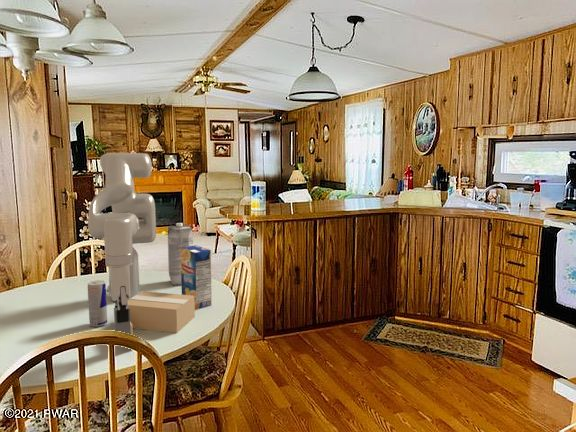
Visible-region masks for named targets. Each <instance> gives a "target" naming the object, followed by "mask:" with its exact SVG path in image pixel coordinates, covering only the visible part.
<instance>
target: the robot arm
mask: <svg viewBox="0 0 576 432" xmlns="http://www.w3.org/2000/svg"><path fill="white" fill-rule="evenodd" d="M99 164H100V166H101V167H100V168H101V169H102V171H103V173H104V174H105V183H104V186H105V187H104V188H103V189H102V190H101V191H99V192H97V194H96V195H95V196H94V197H93V199H92V201H91V202H90V204H89V208H88V218H87V227H88V228H87V229H88V233H89V235H90V236H91V237H92V238H94V239H98V240H99V239H104V258H105V260H104V261H105V267H107V268H108V285H107V287H106V292H108V293H109V296H110V300H111V301H113V302H114V304H115V305H114V308H117V323H122V322H128V321H129V312H128V300H130V298H132V297H134V296H135V295H138V294H140V293H141V292H143V291H142V290H141V289H140V267H139V265H140V264H139V254H138V251H137V250H136V249H135V247H134V246H133V245H134V244H136V245H137V244H149V243H153V242H154V241H155V239H156V237H157V223H156V220H157V219H156V203H155V199H154V197H153V195H151V194H150V193H136V192H135V183H134V179H136V178H137V179H138V178H139V179H140V178H142V179H144V178H149V177H151V175H152V169H153V165H152V164H153V163H152V159H151V157H150V155H149V154H148V153H143V152H138V153H137V152H108V153H105V154H102V155H101V156H100V158H99ZM108 207H111V210H112V213H111V212H109V213H108V212H105V213H104V212H103V213H101V212H102V211H104V210H105V209H107V208H108Z"/></svg>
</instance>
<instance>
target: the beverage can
mask: <svg viewBox="0 0 576 432" xmlns="http://www.w3.org/2000/svg"><path fill="white" fill-rule="evenodd" d="M87 301H88V316H89V317H88V318H89V326H91V327H94V328H95V327H96V328H99V327H103V326H105V325H107V324H108V307H107V306H108V305H107V287H106V281H105V280H101V279H99V280H91V281H89V282H87Z"/></svg>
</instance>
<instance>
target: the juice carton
mask: <svg viewBox="0 0 576 432" xmlns="http://www.w3.org/2000/svg"><path fill="white" fill-rule="evenodd" d="M193 239H194V238H193V229H192V227H191V226H190V225H189V224H186V225H183V222H177V223H175V225H169V226H168V228H167V259H168V263H167V264H168V265H167V266H168V275H169V279H170V282H171V285H172V286H177V285H181V248H182V247H188V246H194V240H193Z"/></svg>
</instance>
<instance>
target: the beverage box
mask: <svg viewBox="0 0 576 432" xmlns="http://www.w3.org/2000/svg"><path fill="white" fill-rule="evenodd" d="M180 286H181V295H191V296H194V306H195V310H199V309H203V308H207V307H211V306H212V301H213V299H212V250H211V249H209V248H206V247H202V246H200V245H197V244H196V245H193V246H188V247H182V248H181V284H180Z"/></svg>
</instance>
